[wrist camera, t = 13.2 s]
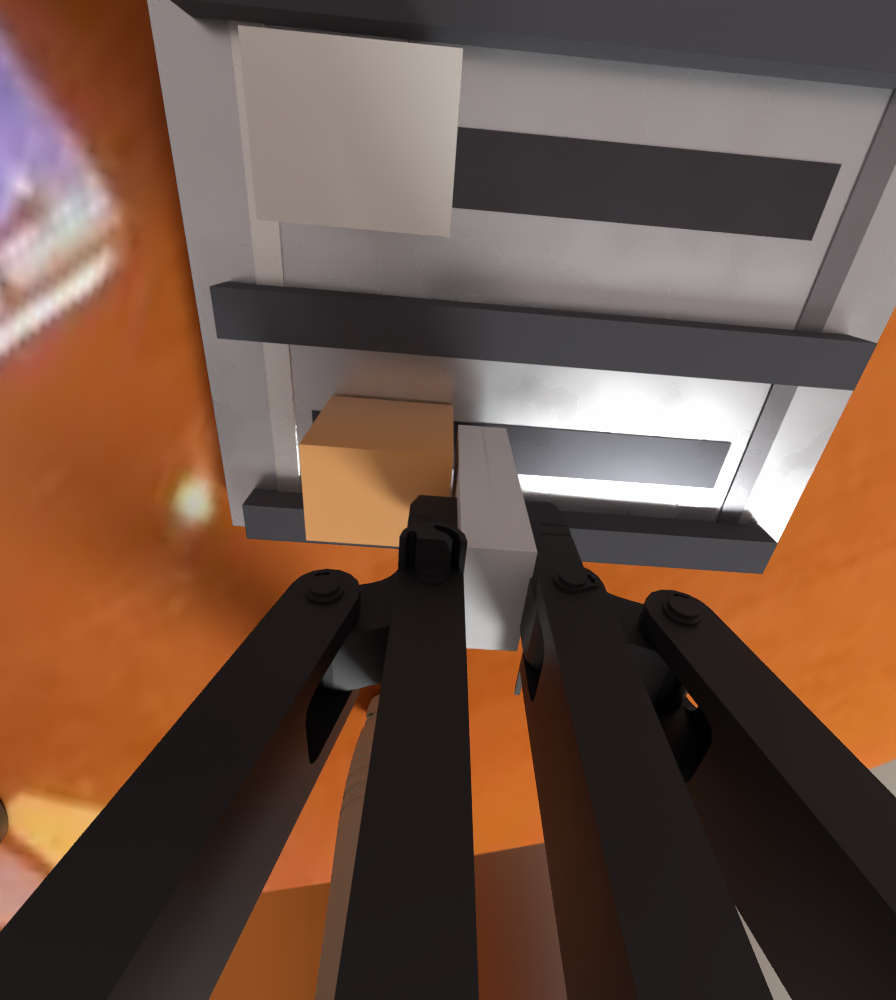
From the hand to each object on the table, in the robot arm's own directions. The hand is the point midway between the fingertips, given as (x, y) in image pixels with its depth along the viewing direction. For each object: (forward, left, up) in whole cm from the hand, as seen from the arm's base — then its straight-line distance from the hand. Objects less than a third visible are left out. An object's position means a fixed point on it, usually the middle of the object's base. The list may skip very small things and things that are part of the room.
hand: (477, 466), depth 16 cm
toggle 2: (-3, 0, -1) cm, 3 cm away
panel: (+2, +4, -3) cm, 5 cm away
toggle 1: (-3, +8, -1) cm, 9 cm away
